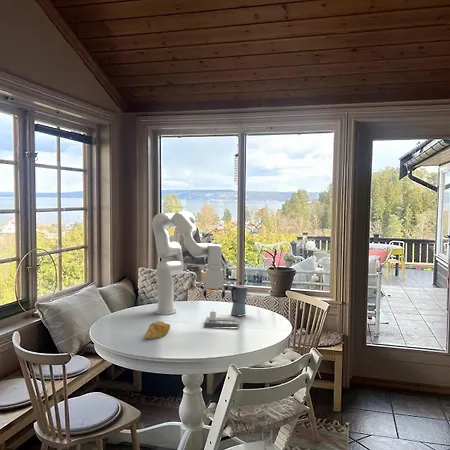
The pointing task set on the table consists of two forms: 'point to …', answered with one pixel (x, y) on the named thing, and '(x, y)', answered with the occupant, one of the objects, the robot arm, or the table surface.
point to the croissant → (157, 330)
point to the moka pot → (238, 299)
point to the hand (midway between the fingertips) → (214, 297)
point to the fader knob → (213, 315)
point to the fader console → (221, 322)
